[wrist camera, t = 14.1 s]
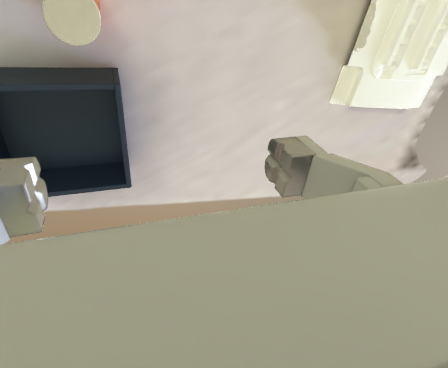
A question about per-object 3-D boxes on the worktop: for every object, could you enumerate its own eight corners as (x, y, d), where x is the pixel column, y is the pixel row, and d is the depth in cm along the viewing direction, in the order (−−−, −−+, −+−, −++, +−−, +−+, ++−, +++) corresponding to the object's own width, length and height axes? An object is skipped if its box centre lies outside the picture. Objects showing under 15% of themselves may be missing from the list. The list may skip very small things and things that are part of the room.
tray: (528, -96, 40) (560, -99, 37) (415, 105, 56) (431, 114, 53) (417, -145, 33) (446, -152, 30) (325, 101, 49) (338, 111, 46)
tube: (62, 23, 31) (49, 45, 23) (52, -23, 29) (35, -17, 21) (103, 25, 32) (104, 46, 25) (97, -19, 30) (96, -12, 22)
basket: (12, 174, 38) (1, 202, 34) (-28, 67, 31) (-50, 85, 26) (128, 163, 43) (131, 187, 38) (117, 67, 35) (120, 83, 31)
